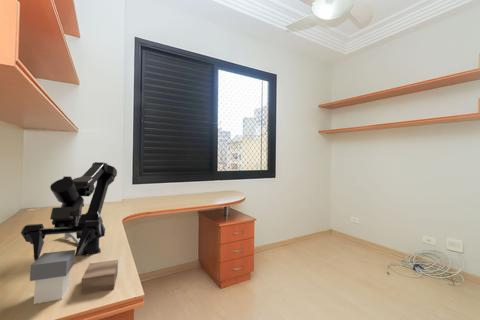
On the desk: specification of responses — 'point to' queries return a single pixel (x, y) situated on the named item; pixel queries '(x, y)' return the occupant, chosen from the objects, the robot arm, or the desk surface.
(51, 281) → the white open box
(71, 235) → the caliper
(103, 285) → the walnut block
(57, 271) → the gray block
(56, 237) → the desk surface
